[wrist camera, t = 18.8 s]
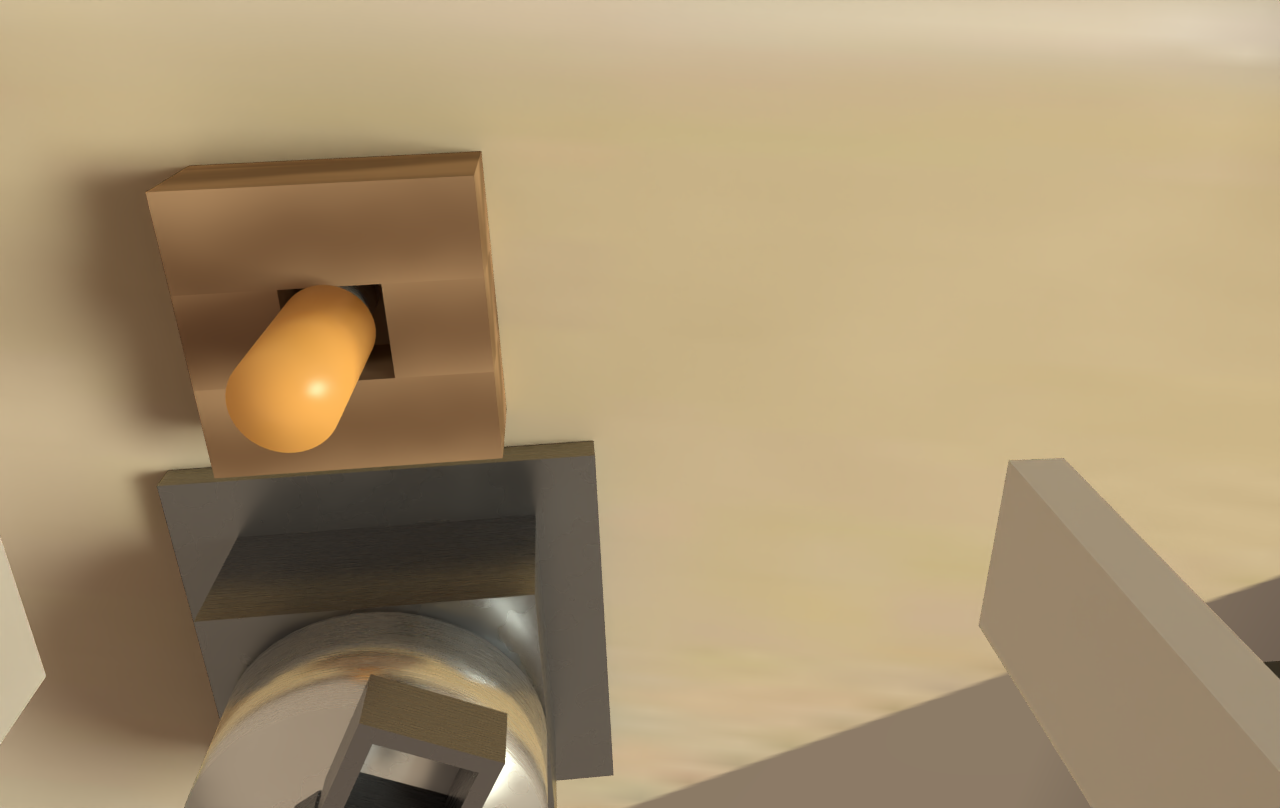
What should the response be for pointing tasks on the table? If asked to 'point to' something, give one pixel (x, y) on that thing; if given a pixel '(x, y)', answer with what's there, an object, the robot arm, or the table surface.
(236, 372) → the orange rounded rod
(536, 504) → the stand
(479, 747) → the chuck
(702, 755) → the table surface
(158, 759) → the table surface
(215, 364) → the wooden hole block
